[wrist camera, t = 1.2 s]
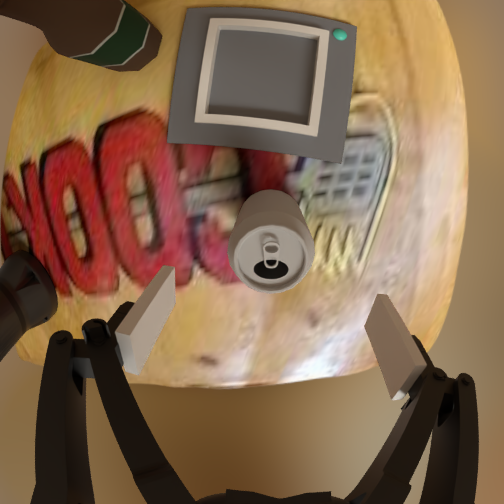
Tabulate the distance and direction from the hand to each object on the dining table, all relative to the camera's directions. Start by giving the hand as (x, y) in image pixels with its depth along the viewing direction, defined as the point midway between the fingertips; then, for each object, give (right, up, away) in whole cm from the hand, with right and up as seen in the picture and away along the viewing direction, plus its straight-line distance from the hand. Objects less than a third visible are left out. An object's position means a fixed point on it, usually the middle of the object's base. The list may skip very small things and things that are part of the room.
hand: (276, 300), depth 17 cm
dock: (0, +23, +9) cm, 25 cm away
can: (+1, +7, +16) cm, 18 cm away
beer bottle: (-16, +29, +8) cm, 34 cm away
